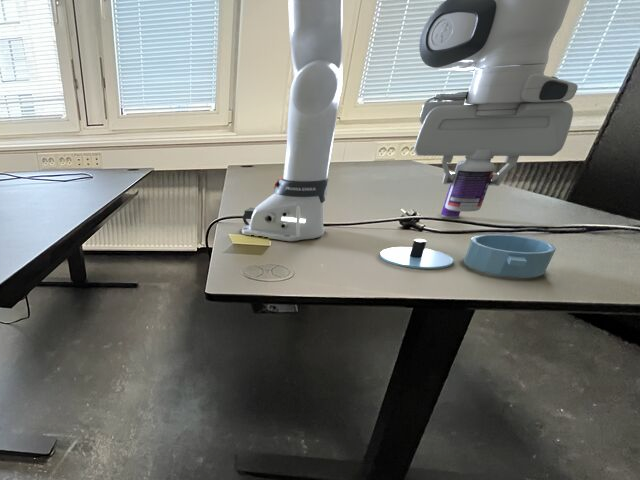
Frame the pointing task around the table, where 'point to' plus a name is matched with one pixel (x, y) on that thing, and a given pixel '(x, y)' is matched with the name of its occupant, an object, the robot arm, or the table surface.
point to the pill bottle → (471, 182)
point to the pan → (509, 255)
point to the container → (447, 212)
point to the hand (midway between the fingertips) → (470, 184)
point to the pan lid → (416, 256)
